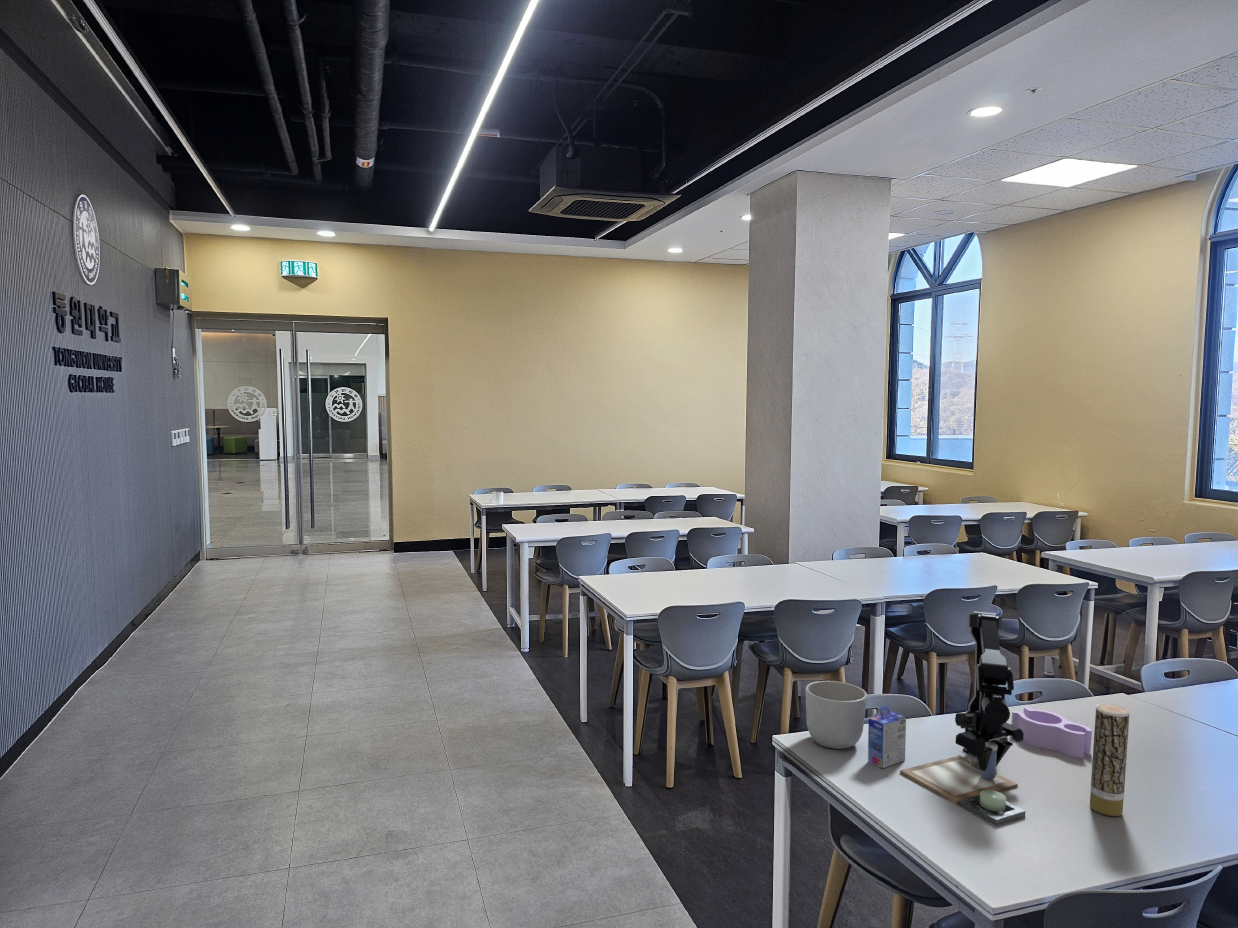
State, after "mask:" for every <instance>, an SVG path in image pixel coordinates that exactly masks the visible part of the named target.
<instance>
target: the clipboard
mask: <svg viewBox="0 0 1238 928" xmlns="http://www.w3.org/2000/svg"><path fill="white" fill-rule="evenodd" d="M899 773H900V774H901V775H903V776H905V777H906V778H907V779H910V780H912V781H914V782H915V783H917V784H919V785H921V786H922V787H924V788H925V789H928V790H930V791H932V792H933V793H936V794H937V795H939V796H941V797H942V798H944V799H946V800H948V801H950V802H952V803H953V804H955V805H960V800H963V799H967V798H970V797H974V796H977V795H980V792H981V791H982V790H994V791H997V792H1000V793H1001V792H1005V791H1008V790H1012V789H1015V788H1018V787H1019V784H1018V783H1017V782H1015V781H1012V780H1011V779H1008V778H1006V777H1004V776H1003V775H1001V774H998V772H997V771H996V777H995V778H994V779H985V778H983V777H982V776H981V775H980V766H979V763H978V762H974V761H972V760H970V759H968V758H965V757H963V756H962V755H956V756H951V757H948V758H944V759H940V760H936V761H932V762H927V763H924V764H920V765H916V766H912V767H907V768H903V769H900V770H899Z"/></svg>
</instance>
